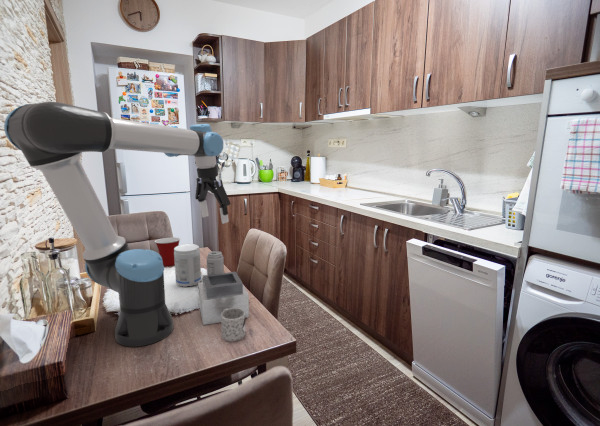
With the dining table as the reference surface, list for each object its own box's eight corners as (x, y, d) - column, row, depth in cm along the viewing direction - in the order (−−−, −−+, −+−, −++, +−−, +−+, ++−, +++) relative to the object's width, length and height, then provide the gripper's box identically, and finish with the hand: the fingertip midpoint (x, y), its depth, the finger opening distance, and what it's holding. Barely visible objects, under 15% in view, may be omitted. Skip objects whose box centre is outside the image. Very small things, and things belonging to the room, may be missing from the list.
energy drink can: (226, 292, 121) (225, 254, 119) (210, 296, 118) (208, 256, 116) (221, 287, 126) (220, 249, 124) (205, 290, 123) (204, 252, 121)
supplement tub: (195, 276, 137) (194, 242, 134) (205, 283, 129) (203, 247, 127) (172, 281, 131) (170, 246, 128) (180, 289, 123) (178, 252, 121)
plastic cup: (176, 258, 158) (174, 234, 155) (185, 264, 150) (184, 239, 148) (152, 263, 150) (150, 238, 148) (161, 270, 143) (159, 243, 140)
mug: (248, 337, 93) (248, 315, 92) (226, 344, 90) (225, 321, 88) (235, 321, 102) (235, 301, 100) (214, 327, 98) (214, 306, 97)
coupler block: (203, 325, 99) (201, 291, 97) (198, 304, 112) (197, 274, 110) (248, 317, 104) (248, 284, 102) (239, 298, 117) (239, 269, 115)
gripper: (235, 167, 118) (242, 222, 124) (197, 162, 134) (205, 211, 140) (217, 170, 112) (226, 228, 119) (180, 165, 128) (190, 216, 135)
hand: (215, 219), depth 130 cm, fingers open, 13 cm apart
